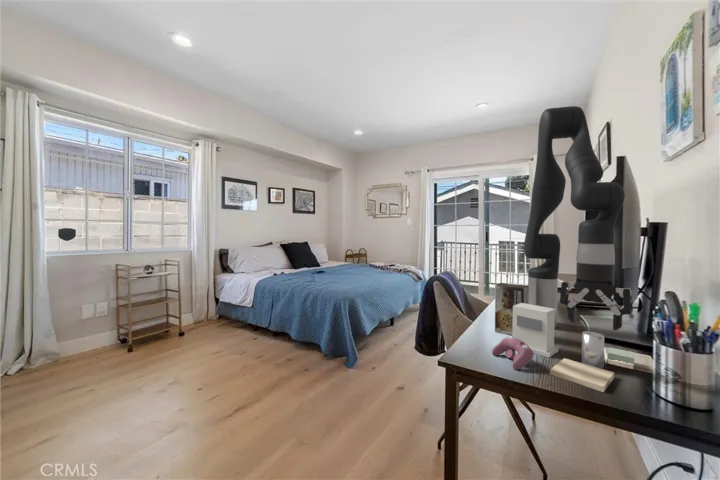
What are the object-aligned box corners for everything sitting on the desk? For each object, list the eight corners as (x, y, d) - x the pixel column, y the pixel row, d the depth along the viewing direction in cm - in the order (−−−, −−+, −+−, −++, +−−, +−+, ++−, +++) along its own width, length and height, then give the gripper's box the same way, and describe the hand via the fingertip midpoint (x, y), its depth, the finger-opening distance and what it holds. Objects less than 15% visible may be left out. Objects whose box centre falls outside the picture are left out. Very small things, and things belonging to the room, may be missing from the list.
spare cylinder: (584, 360, 78) (585, 330, 78) (605, 365, 75) (606, 334, 75) (579, 364, 75) (580, 333, 75) (601, 371, 72) (601, 338, 72)
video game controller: (528, 376, 72) (540, 350, 73) (513, 369, 72) (525, 343, 72) (502, 359, 82) (512, 336, 83) (489, 352, 81) (499, 329, 82)
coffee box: (528, 333, 99) (529, 285, 98) (523, 338, 94) (524, 288, 93) (499, 327, 105) (500, 282, 104) (493, 331, 100) (494, 284, 100)
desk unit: (518, 339, 92) (519, 301, 92) (558, 351, 84) (559, 309, 84) (507, 345, 88) (508, 305, 88) (549, 357, 79) (550, 313, 79)
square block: (609, 358, 80) (609, 347, 80) (634, 364, 76) (634, 352, 76) (607, 364, 76) (607, 352, 76) (633, 370, 73) (634, 358, 73)
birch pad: (564, 362, 76) (564, 358, 76) (614, 377, 69) (614, 372, 69) (550, 374, 70) (550, 369, 70) (603, 392, 62) (603, 386, 62)
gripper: (636, 263, 71) (634, 329, 71) (566, 259, 82) (565, 316, 82) (630, 265, 66) (628, 336, 67) (557, 260, 77) (556, 321, 78)
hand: (593, 325), depth 75 cm, fingers open, 8 cm apart
